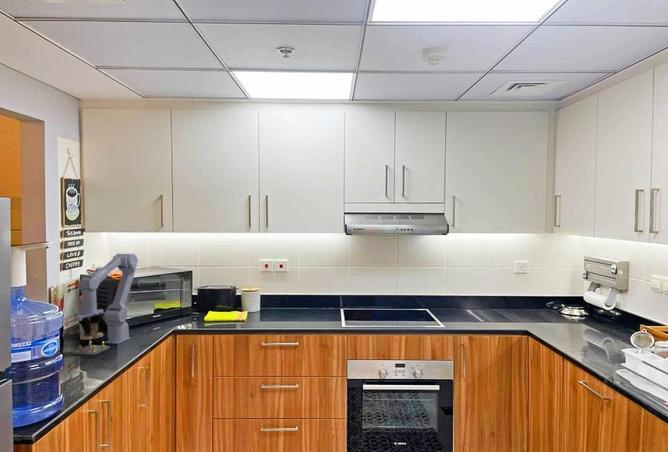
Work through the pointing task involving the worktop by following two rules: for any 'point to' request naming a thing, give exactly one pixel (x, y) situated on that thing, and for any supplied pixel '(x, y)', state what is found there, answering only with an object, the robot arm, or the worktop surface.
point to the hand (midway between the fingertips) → (91, 332)
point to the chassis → (91, 349)
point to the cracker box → (80, 310)
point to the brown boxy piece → (92, 332)
